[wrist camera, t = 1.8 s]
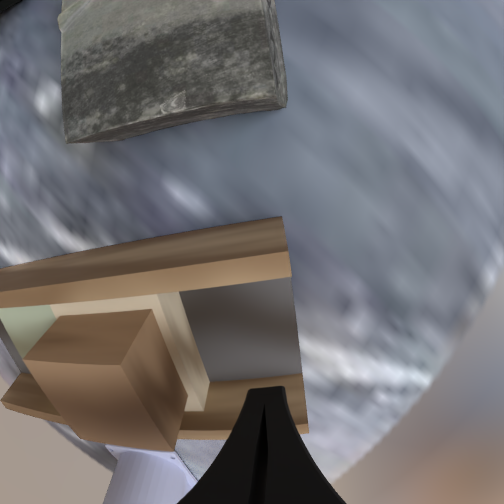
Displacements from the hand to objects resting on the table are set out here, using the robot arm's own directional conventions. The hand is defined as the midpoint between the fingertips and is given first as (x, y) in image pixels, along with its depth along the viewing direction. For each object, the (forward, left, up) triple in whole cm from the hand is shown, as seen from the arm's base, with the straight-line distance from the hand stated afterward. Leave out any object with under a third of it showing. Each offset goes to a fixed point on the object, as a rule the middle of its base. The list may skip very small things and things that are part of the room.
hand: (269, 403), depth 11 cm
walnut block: (0, +8, -4) cm, 9 cm away
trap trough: (0, +11, -7) cm, 13 cm away
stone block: (+18, +1, -7) cm, 19 cm away
